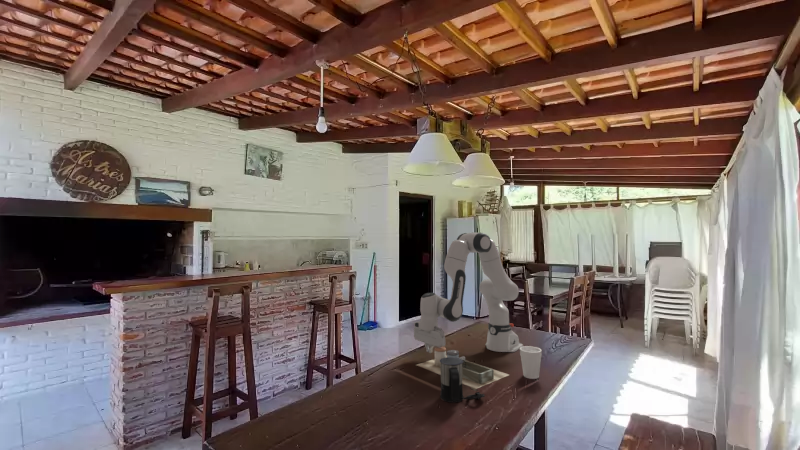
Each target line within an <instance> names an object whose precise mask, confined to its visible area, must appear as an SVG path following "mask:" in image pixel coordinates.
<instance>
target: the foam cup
mask: <svg viewBox="0 0 800 450" xmlns="http://www.w3.org/2000/svg"><path fill="white" fill-rule="evenodd" d="M542 350H543V349H541V348H540V347H538V346H532V345H529V346H528V345H525V346H524V345H523V347H520V349H519V355H520V360H521V368H522V374H523V377H524V378H525V379H526V378H527V379H530V380H534V381H535V382H536V381H539V377H540V371H541V360H542V357H543V354H542V352H543V351H542ZM535 379H536V380H535Z"/></svg>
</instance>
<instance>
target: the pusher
mask: <svg viewBox="0 0 800 450" xmlns="http://www.w3.org/2000/svg"><path fill="white" fill-rule="evenodd" d="M459 359H461V360H462V361H463V362H462V367H463V368H465V360H466V356H464V355H462V356H460V357H459Z"/></svg>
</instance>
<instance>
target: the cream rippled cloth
mask: <svg viewBox="0 0 800 450" xmlns="http://www.w3.org/2000/svg"><path fill="white" fill-rule="evenodd" d="M446 358H447V354H446ZM417 366H418V367H420V368H422V369H424V370H427V371H429V372H432V373H435V374H438V375H439V376H441V362H440V367H439V366H435V358H434V359H431V360H430V359H429V360H426V361H424V362H421V363H418V364H416V367H417ZM509 376H510V374H508V373H505V372H503V371H501V370H496V369H493V368H492V367H488V366H485V365H481V364H478V363H476V362H472V361H469V360H467V359H465V368H463V367H462V385H465V386H467V387H470V388H469V389H470V391H471V390H472V391H474V392H479V390H478V389H480V388H481V387H484V386H487V385H489V384H492V383H494V382H497V381H499V380H501V379H503V378H506V377H509Z"/></svg>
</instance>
